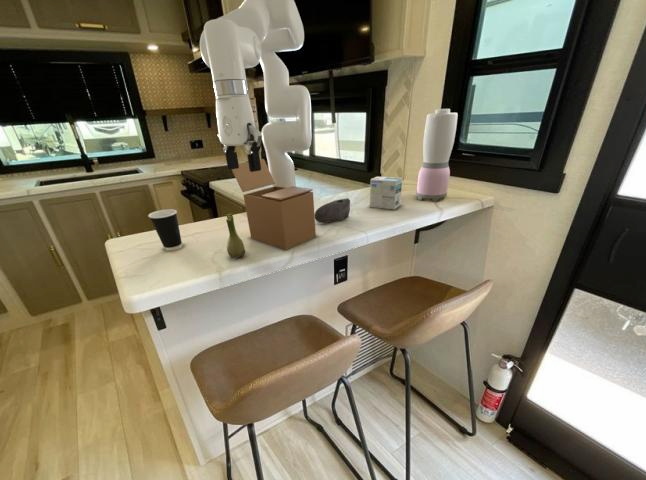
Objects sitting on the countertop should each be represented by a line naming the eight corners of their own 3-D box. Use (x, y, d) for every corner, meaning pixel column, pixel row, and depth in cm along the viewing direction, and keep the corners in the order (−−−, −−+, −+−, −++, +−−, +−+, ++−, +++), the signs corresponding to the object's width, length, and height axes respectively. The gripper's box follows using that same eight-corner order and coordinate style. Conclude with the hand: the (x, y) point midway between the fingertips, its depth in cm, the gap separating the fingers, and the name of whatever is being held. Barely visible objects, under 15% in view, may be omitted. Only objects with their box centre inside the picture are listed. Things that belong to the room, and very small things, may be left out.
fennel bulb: (239, 261, 86) (230, 218, 80) (224, 259, 87) (214, 218, 81) (249, 252, 91) (241, 212, 84) (234, 251, 92) (226, 211, 86)
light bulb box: (400, 205, 123) (403, 177, 118) (394, 210, 119) (396, 180, 113) (375, 203, 128) (377, 175, 123) (369, 207, 124) (370, 179, 118)
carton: (251, 238, 101) (242, 191, 93) (280, 227, 109) (275, 183, 101) (286, 249, 91) (280, 198, 83) (315, 236, 99) (312, 189, 91)
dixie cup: (156, 248, 98) (144, 213, 92) (181, 240, 102) (170, 207, 97) (165, 254, 93) (153, 218, 87) (191, 246, 97) (180, 212, 92)
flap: (243, 191, 93) (242, 192, 94) (275, 183, 101) (274, 184, 101) (230, 165, 92) (229, 165, 92) (263, 158, 100) (263, 159, 100)
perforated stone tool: (318, 226, 107) (317, 206, 103) (311, 222, 111) (310, 203, 107) (355, 218, 112) (355, 199, 109) (347, 215, 116) (347, 196, 113)
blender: (441, 202, 124) (456, 109, 107) (412, 199, 130) (421, 110, 113) (450, 193, 135) (465, 107, 118) (423, 191, 141) (433, 109, 124)
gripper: (198, 94, 75) (214, 170, 84) (239, 87, 64) (252, 174, 73) (225, 94, 79) (237, 166, 88) (267, 87, 69) (276, 169, 78)
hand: (244, 169), depth 81 cm, fingers open, 9 cm apart
